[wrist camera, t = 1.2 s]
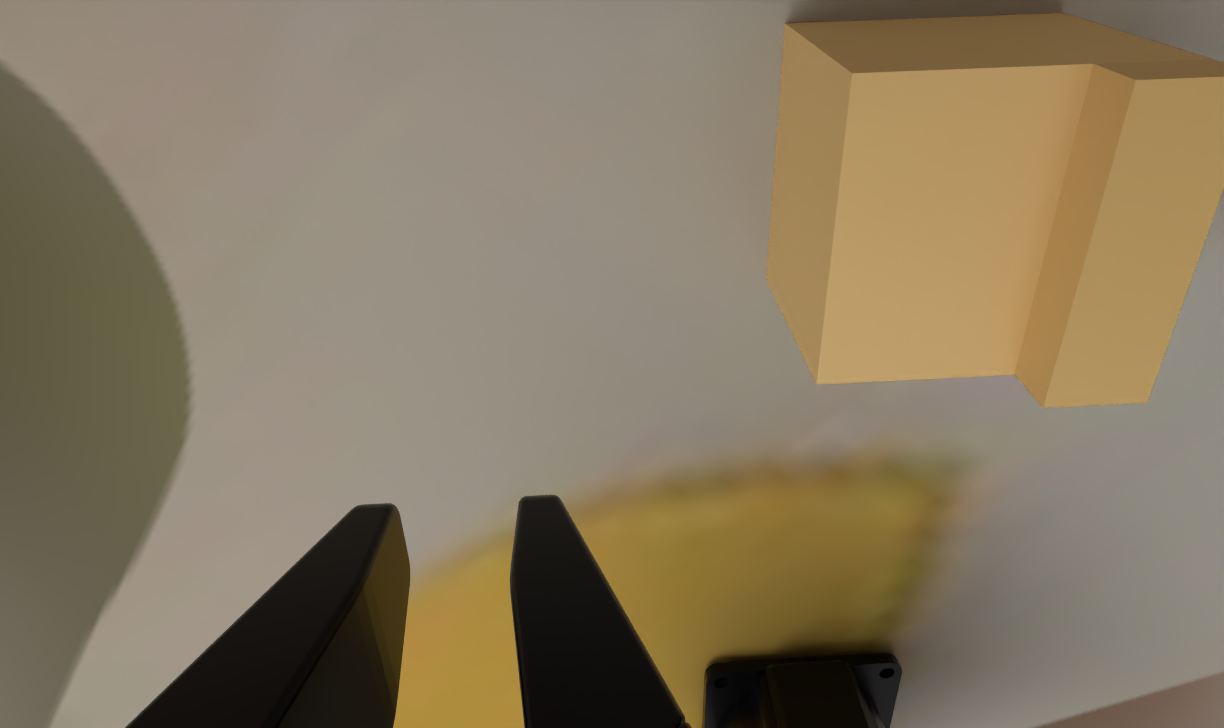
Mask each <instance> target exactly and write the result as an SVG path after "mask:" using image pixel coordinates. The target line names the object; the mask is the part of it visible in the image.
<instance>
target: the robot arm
mask: <svg viewBox="0 0 1224 728" xmlns="http://www.w3.org/2000/svg"><path fill="white" fill-rule="evenodd" d="M409 587H410V563H409V557H408V552H407V547H406V542H405V537H404V533H403V528H402V523H401V518H400V514H399V511H398V509H397V507H396V506H395V505H393V504H391V503H385V504H365V505H358V506H356V507H354V508H353V509H352V510H351V511H350V512H349V513H348V514H346V515H345V516H344V517H343V518H342V519H341V520H340V521H339V522H338V523H337V524H336V525H335V526H334V527H333V528H332V529H331V530H330V531H329V532H328V533H327V534H326V535H325V536H324V537H323V538H322V539H321V540H319V541H318V542H317V543H316V544H315V545H314V546H313V547H312V548H311V549H310V550H309V551H308V552H307V553H306V554H305V555H304V556H303V557H302V558H301V559H300V560H299V561H298V562H297V563H296V564H295V565H294V566H292V567H291V568H290V569H289V570H288V571H287V572H286V573H285V574H284V575H283V576H282V577H281V578H280V579H279V580H278V581H277V582H276V583H275V584H274V585H273V586H272V587H271V588H270V589H269V590H268V591H267V592H265V593H264V594H263V595H262V596H261V597H260V598H259V599H258V600H257V601H256V602H255V603H254V604H253V605H252V606H251V607H250V608H249V609H248V610H247V611H246V612H245V613H244V614H243V615H242V616H241V617H240V618H238V619H237V620H236V621H235V622H234V623H233V624H232V625H231V626H230V627H229V628H228V629H227V630H226V631H225V632H224V633H223V634H222V635H221V636H220V637H219V638H218V639H217V640H216V641H215V642H214V643H213V644H211V645H210V646H209V647H208V648H207V649H206V650H205V651H204V652H203V653H202V654H201V655H200V656H199V657H198V658H197V659H196V660H195V661H194V662H193V663H192V664H191V665H190V666H189V667H188V668H187V669H186V670H184V671H183V672H182V673H181V674H180V675H179V676H178V677H177V678H176V679H175V680H174V681H173V682H172V683H171V684H170V685H169V686H168V687H167V688H166V689H165V690H164V691H163V692H162V693H161V694H160V695H159V696H157V697H156V698H155V699H154V700H153V701H152V702H151V703H150V704H149V705H148V706H147V707H146V708H145V709H144V710H143V711H142V712H141V713H140V714H139V715H138V716H137V717H136V718H135V719H134V720H133V721H132V722H130V723H129V724H128V725H127V726H126V727H125V728H393V725H394V720H395V714H396V706H397V698H398V690H399V680H400V671H401V662H402V652H403V643H404V634H405V624H406V615H407V605H408V596H409ZM510 593H511V603H512V613H513V622H514V632H515V641H516V651H517V660H518V670H519V679H520V689H521V698H522V708H523V717H524V727H525V728H691V726H690V724H688V723H686V722H685V716H684V714H683V713H682V711H681V709H680V707H679V706H678V704H677V702H676V700H675V699H674V697H673V695H672V693H671V692H670V690H669V688H668V686H667V685H666V683H665V681H664V679H663V678H662V676H661V674H660V672H659V671H658V669H657V667H656V665H655V664H654V662H653V660H652V658H651V657H650V655H649V653H648V651H647V650H646V648H645V646H644V644H643V643H642V641H641V639H640V637H639V636H638V634H637V632H636V630H635V629H634V627H633V625H632V623H631V622H630V620H629V618H628V616H627V615H626V613H625V611H624V609H623V608H622V606H621V604H620V602H619V601H618V599H617V597H616V595H615V594H614V592H613V590H612V588H611V587H610V585H609V583H608V581H607V580H606V578H605V576H604V574H603V573H602V571H601V569H600V567H599V566H598V564H597V562H596V560H595V559H594V557H593V555H592V553H591V552H590V550H589V548H588V546H587V545H586V543H585V541H584V539H583V538H582V536H581V534H580V532H579V531H578V529H577V527H576V525H575V524H574V522H573V520H572V518H571V517H570V515H569V513H568V511H567V510H566V508H565V506H564V504H563V503H562V501H561V499H560V498H559V497H558V496H556V495H538V496H525V497H523V498H521V500H520V501H519V505H518V513H517V521H516V529H515V536H514V544H513V552H512V560H511V570H510ZM901 674H902V669H901V666H900V664H899V661H898V659H897V658H896V656H895V655H892V654H888V653H881V654H864V655H847V656H829V657H812V658H794V659H777V660H759V661H742V662H724V663H716V664H713V665H711V666H709V667H708V668H707V669H706V671H705V676H704V700H703V723H702V728H890V724H891V719H892V715H893V710H894V706H895V701H896V697H897V692H898V688H899V683H900V679H901Z"/></svg>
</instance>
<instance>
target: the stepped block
mask: <svg viewBox="0 0 1224 728" xmlns="http://www.w3.org/2000/svg"><path fill="white" fill-rule="evenodd" d="M1223 190H1224V62H1221V61H1217V60H1214V59H1211V58H1208V57H1204V56H1201V55H1198V54H1195V53H1191V52H1188V51H1185V50H1182V49H1178V48H1175V47H1172V46H1169V45H1165V44H1162V43H1159V42H1156V41H1152V40H1149V39H1146V38H1142V37H1139V36H1136V35H1133V34H1129V33H1126V32H1123V31H1120V30H1116V29H1113V28H1110V27H1107V26H1103V25H1100V24H1097V23H1094V22H1090V21H1087V20H1084V19H1081V18H1077V17H1074V16H1071V15H1068V14H1064V13H1048V14H1021V15H995V16H968V17H942V18H916V19H889V20H863V21H836V22H810V23H785V30H784V43H783V57H782V71H781V85H780V99H779V112H778V126H777V140H776V154H775V168H774V182H773V195H772V209H771V223H770V237H769V251H768V265H767V278H766V280H767V282H768V284H769V286H770V288H771V290H772V293H773V295H774V297H775V299H776V301H777V303H778V305H779V307H780V309H781V311H782V313H783V315H784V318H785V320H786V322H787V324H788V326H789V328H790V330H791V332H792V334H793V336H794V338H795V341H796V343H797V345H798V347H799V349H800V351H801V353H802V355H803V357H804V359H805V361H806V364H807V366H808V368H809V370H810V372H811V374H812V376H813V378H814V380H815V382H816V384H836V383H856V382H877V381H897V380H917V379H937V378H958V377H978V376H998V375H1015V376H1016V377H1017V379H1018V380H1019V381H1020V382H1021V383H1022V384H1023V385H1024V387H1025V388H1026V389H1027V390H1028V391H1029V392H1030V393H1031V395H1032V396H1033V397H1034V398H1035V399H1036V400H1037V401H1038V403H1039V404H1040V405H1041V406H1042V407H1043V408H1053V407H1073V406H1093V405H1113V404H1133V403H1147V402H1148V400H1149V397H1150V394H1151V391H1152V388H1153V386H1154V383H1155V380H1156V377H1157V374H1158V372H1159V369H1160V366H1161V363H1162V360H1163V358H1164V355H1165V352H1166V349H1167V346H1168V344H1169V341H1170V338H1171V335H1172V332H1173V330H1174V327H1175V324H1176V321H1177V318H1178V316H1179V313H1180V310H1181V307H1182V305H1183V302H1184V299H1185V296H1186V293H1187V291H1188V288H1189V285H1190V282H1191V279H1192V277H1193V274H1194V271H1195V268H1196V265H1197V263H1198V260H1199V257H1200V254H1201V251H1202V249H1203V246H1204V243H1205V240H1206V237H1207V235H1208V232H1209V229H1210V226H1211V223H1212V221H1213V218H1214V215H1215V212H1216V209H1217V207H1218V204H1219V201H1220V198H1221V196H1222V193H1223Z"/></svg>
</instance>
